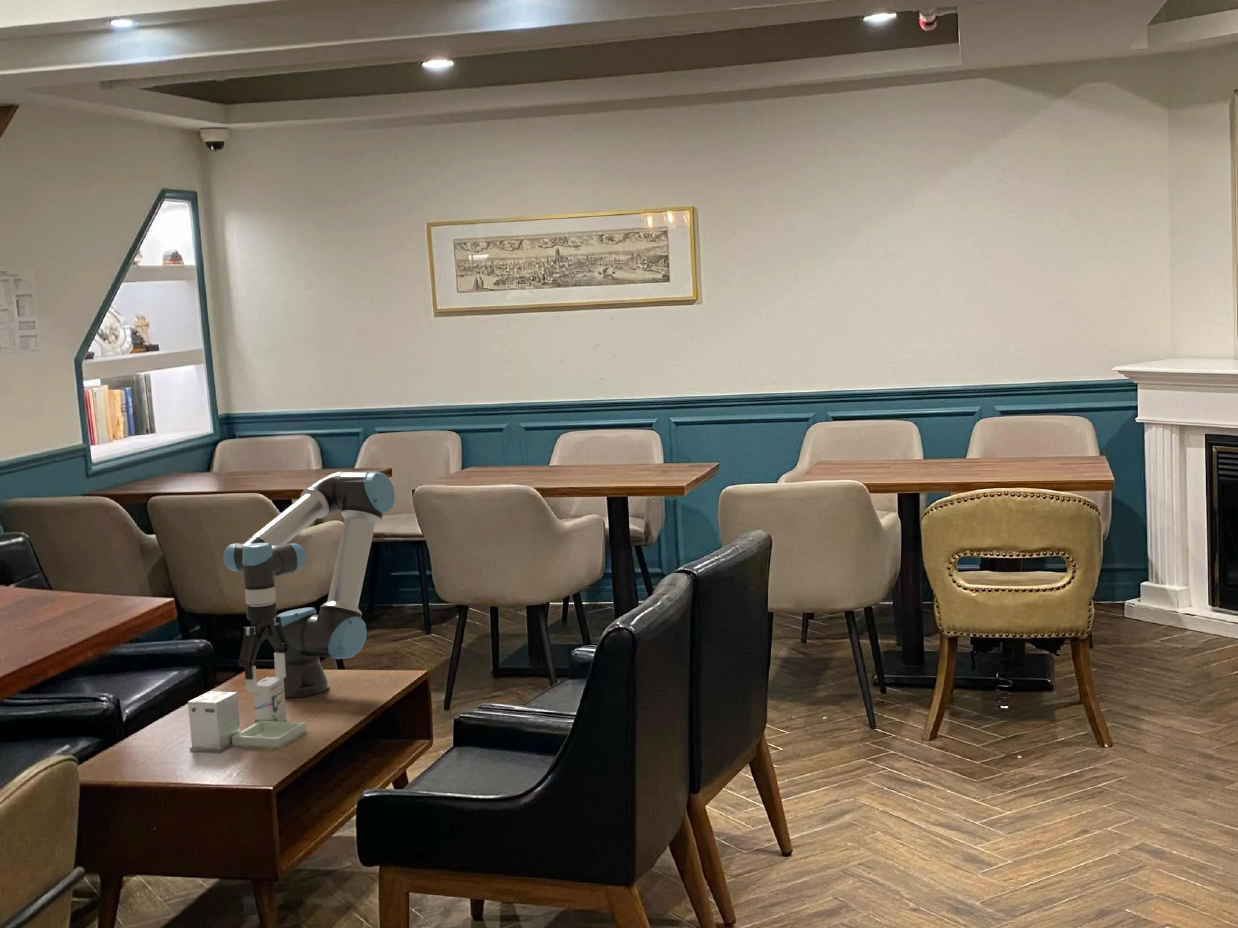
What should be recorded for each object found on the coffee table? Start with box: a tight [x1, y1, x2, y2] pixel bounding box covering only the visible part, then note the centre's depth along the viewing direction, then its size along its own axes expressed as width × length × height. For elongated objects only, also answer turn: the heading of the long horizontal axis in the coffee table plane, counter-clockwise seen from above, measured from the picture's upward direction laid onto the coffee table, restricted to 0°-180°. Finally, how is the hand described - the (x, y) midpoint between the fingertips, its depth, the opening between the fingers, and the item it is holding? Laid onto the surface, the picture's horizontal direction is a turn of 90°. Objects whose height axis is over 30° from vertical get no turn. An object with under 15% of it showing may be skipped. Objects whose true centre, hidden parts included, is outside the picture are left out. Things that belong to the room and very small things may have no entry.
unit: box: [187, 690, 241, 754], centre depth 326 cm, size 10×9×12 cm
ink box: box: [252, 676, 287, 724], centre depth 342 cm, size 9×5×12 cm, turn 168°
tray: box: [232, 720, 307, 750], centre depth 330 cm, size 13×13×3 cm
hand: (266, 684), depth 341 cm, fingers open, 13 cm apart
